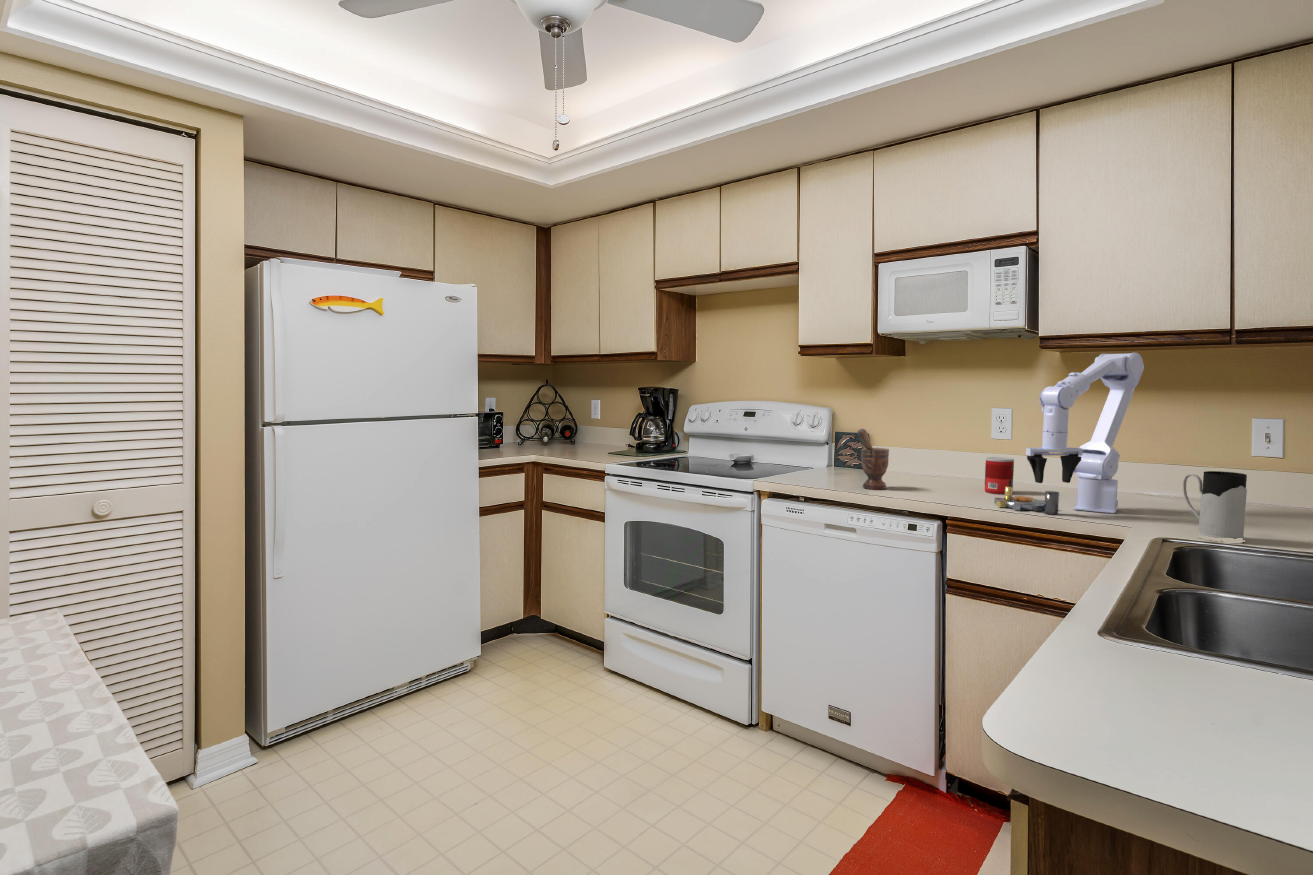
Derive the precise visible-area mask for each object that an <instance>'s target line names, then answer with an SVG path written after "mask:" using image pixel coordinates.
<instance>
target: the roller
mask: <svg viewBox="0 0 1313 875" xmlns="http://www.w3.org/2000/svg"><path fill="white" fill-rule="evenodd" d="M1059 498H1060V492H1059V491H1056V490H1045V491H1044V500H1045V507H1044V509H1043V513H1044V515H1048V516H1058V515H1059V504H1060V503H1059V502H1060V499H1059Z"/></svg>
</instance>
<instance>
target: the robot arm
mask: <svg viewBox="0 0 1313 875" xmlns="http://www.w3.org/2000/svg"><path fill="white" fill-rule="evenodd" d="M1144 369H1145V365H1144V361H1143V357H1142V356H1141V354H1140V353H1138V352H1131V353H1130V352H1129V353H1101V354H1099V355H1098V356H1096V357H1095V359H1094V362H1093V363H1091V365H1089V366H1088V367H1087V368H1086V369H1084V370H1083V371H1082V372H1070V373H1068V376H1067V377H1065V378H1064V379H1062V380H1060V381H1057V383H1056V384H1055V385H1054V386H1047V387H1045V388H1044V389H1043V390H1041V393H1040V394H1039V396H1038V401H1039V405H1040V406H1041V413H1042V414H1043V418H1042V419H1043V420H1042V421H1043V424H1042V439H1041V440H1042V441H1041V442H1042V444H1041V447H1039V446H1038V447H1025V448H1026V449H1025V455H1026V459H1027V461H1028V462H1029V465H1030V467H1031V469H1032V473H1033V477H1034V482H1035V483H1037V484H1043V482H1044V476H1045V475H1044V473H1045V467H1046V464H1047V461H1048V458H1046V457H1044V456H1059V457H1060V461H1061V469H1062V471H1061V479H1062V480H1061V481H1062V482H1063V483H1066V484H1069V483H1071V481H1072V477H1073V474H1074V473H1075V477H1077V491H1076V492H1077V494H1076V495H1077V496H1076V504H1075V505H1074V507H1073V510H1076V511H1083V512H1084V511H1087V512H1096V513H1106V514H1116V511H1117V508H1118V507H1119V500H1118V484H1119V482H1118V481H1119V480H1118V479H1115V478H1114V479H1113V477H1114V476H1115V475H1116V474H1117V472H1118V470H1119V469H1118V468H1119V460H1120V454H1119V452H1118V450H1116V449H1115V447H1113V446H1114V445H1115V441H1116V438H1117V436H1118V434H1119V431H1120V429H1121V425H1122V423H1123V420H1124V418H1125V416H1126V413H1127V410H1128V408H1129V405H1130V402H1131V401H1132V397H1133V394H1134V393H1135V390H1136V387H1137V386H1138V384H1139V382H1140V379H1141V377H1142V375H1143V372H1144ZM1099 379H1100V380H1101V381H1102V383H1103V385H1104V386H1105V387H1108V389H1109V392H1108V395H1107V398H1106V400H1105V403H1104V406H1103V409H1102V411H1101V413H1100V416H1099V419H1098V421H1097V423H1096V426H1095V429H1094V431H1093V432H1092V433H1093V434H1092V436H1091V438H1090V440H1089V441H1088V442H1086V443H1084V444H1082V445H1080V446H1079V447H1068V436H1069V435H1068V434H1069V432H1068V431H1069V414H1070V413H1069V412H1070V408H1072V407H1073V406H1074V404H1075V402H1076V400H1077V399H1078V397H1080V396H1081V395H1083V394H1084V393H1086V392H1087V391H1088V390H1089V389H1090V388H1091V384H1092V383H1094V382H1096V381H1097V380H1099Z"/></svg>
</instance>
